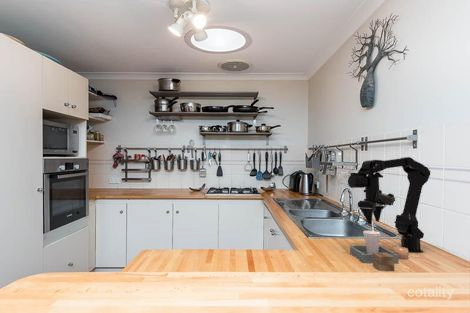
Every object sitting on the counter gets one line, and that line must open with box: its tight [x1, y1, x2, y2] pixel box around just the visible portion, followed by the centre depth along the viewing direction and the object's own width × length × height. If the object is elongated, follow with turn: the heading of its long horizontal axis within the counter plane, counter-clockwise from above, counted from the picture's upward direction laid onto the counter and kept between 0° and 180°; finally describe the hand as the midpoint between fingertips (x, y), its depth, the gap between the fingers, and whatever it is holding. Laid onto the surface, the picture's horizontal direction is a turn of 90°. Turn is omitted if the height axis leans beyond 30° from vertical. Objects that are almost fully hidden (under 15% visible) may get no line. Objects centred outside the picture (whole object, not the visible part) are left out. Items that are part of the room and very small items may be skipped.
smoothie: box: [362, 220, 381, 254], centre depth 104 cm, size 6×6×14 cm
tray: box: [349, 245, 400, 265], centre depth 104 cm, size 13×13×3 cm
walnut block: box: [372, 253, 395, 272], centre depth 92 cm, size 5×5×5 cm
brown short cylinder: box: [393, 245, 410, 261], centre depth 104 cm, size 5×5×4 cm
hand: (373, 222), depth 112 cm, fingers open, 9 cm apart
